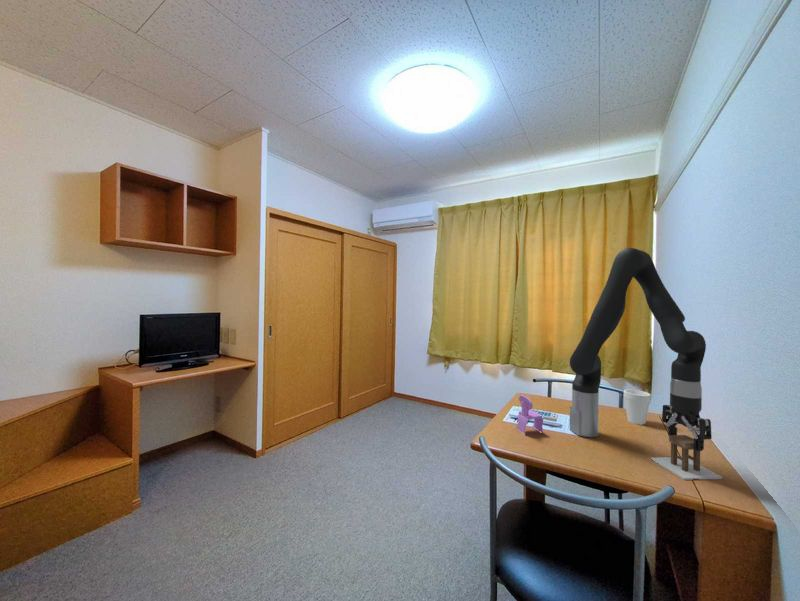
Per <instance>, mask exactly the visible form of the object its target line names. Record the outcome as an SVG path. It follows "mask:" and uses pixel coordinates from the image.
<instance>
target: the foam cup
mask: <svg viewBox="0 0 800 601" xmlns="http://www.w3.org/2000/svg"><path fill="white" fill-rule="evenodd" d="M651 396H652V395H651V393H649V392H647V391H643V390H638V389H629V388H628V389H624V390H623V397H624V405H625V411H626V419H627V421H628V422H629V423H631V424H633V425H638V424H639V426H640V425H641V426H643V424H645V423H646V424H647V420H648V419H647V418H648V413H649V406H650V403H651V402H650V401H651V398H652V397H651ZM646 424H645V425H646Z"/></svg>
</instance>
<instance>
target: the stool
mask: <svg viewBox="0 0 800 601" xmlns="http://www.w3.org/2000/svg"><path fill="white" fill-rule="evenodd" d="M668 442H669V443H670V457H671V464H673V465H677V458H678V459H680V460H682V470H683V471H688V461H689V460H691V461H693V469H694V470H696V471H700V465H701V451H696V450H694V437H691V436H688V435H686V434H677V435H668ZM678 447H679V448H681V456H680V455H678ZM689 450H693V451H692V453H693V456H692V455H689V453H690V452H689Z"/></svg>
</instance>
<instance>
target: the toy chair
mask: <svg viewBox="0 0 800 601" xmlns="http://www.w3.org/2000/svg"><path fill="white" fill-rule="evenodd" d="M518 399H519V400H518V401H519V402H520V406H521V410H520V411H518V414H517V425H516V427H515V429H516V428H517V429H519V430H520V431H521V432H523V433H524V434H525V435H526V427H527V424H528V422H529V421H530V420H534V421H533V425H532V427H535V428H536V429H538V430H539V431H541V432H543V424H544V418H543V415H542V414H540V413H538V412H536V411H534V410H533V405H534V404H533V402H532V401H531V399H530V398H529V397H528V396H525V395H523V394H520V395H519V397H518ZM543 433H544V432H543Z"/></svg>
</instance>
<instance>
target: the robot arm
mask: <svg viewBox="0 0 800 601" xmlns="http://www.w3.org/2000/svg"><path fill="white" fill-rule="evenodd" d="M633 278H634V279H635V280H636V281H637V283H638V285H639V286H640V287H641V289H642V292H643V295H644V297H645V301H646V303H647V306H648V308H649V310H650V312H651V313H652V315H653V317H654V318H655V320H656V322H657V323H658V324H659V327H660V330H661V334H662V337H663V339H664V342H665V344H666V346H668V348H669V349H670V350H672V352H674V353H677V357H676V358H675V360H673V361H672V363H671V367H670V368H671V369H670V372H671V373H670V375H671V376H670V382H669V383H670V384H669V404H663V405H662V414H661V421H662V423H665V425H666V426H667V435H668V436H669V435H678V427H677V426H678V425H682V426H683V427H685V428H687V429H688V431H690V432H691V435H692V436H693V439H694V450H696V451H700V452H702V451H703V450H704V449H705V444H704V443H705V440H712V438H713V437H712V436H713V435H712V420H711V419H709V418H702V417H701V416H700V413H701V412H702V410H703V408H702V405H703V404H702V400H703V399H702V396H703V395H702V394H703V392H702V391H703V390H702V389H703V388H702V382H701V381H702V379H701V378H702V374H701V373H702V370H701V368H702V364H703V362H704V358H705V354H706V349H707V344H706V340H705V337H704V336H703V335H702V334H701V333H700V332H698V331H694V330H687V328H686V327H685V324H684V322H685V320H686V317H685V315H684V313H683V311H682V310H681V308H679V305H678V304H677V302H675V300H674V298H673V297H672V296H671V294H670V292H669V291H668V289H667V288H666V286H665V285H664V283H663V281H662V280H661V278H660V275H659V273H658V271H657V269H656V266H655V264H654V260H653V259H652V256H651V255H650V254H649V253H648V252H646V251H644V250H641V249H638V248H633V247H627V248H623V249H621V251H619V252H618V253H617V254H616V256H615V257H614V260H613V262H612V265H611V268H610V271H609V274H608V277H607V281H606V282H605V286H604V287H603V290H602V292H601V294H600V296H599V299H598V301H597V303H596V305H595V306H594V309H593V311H592V313H591V316H590V318H589V321H588V323H587V325H586V327H585V330H584V332H583V334H582V335H583V336H582V337H581V339H580V342H579V343H578V344H577V346H576V347H575V349H574V351H573V352H572V354H571V355H570V358H569V366H570V369H571V370H572V371H573V373H575V376H574V379H573V381H572V384H571V385H572V386H571V387H572V388H571V392H572V393H571V394H572V395H571V406H570V407H569V431H571V432H572V431H573V432H572V433H574V434H575V433H576V434H575V435H577V436H578V435H579V437H586V438H596V437H598V436H599V399H600V397H599V395H600V394H599V393H600V392H599V391H600V390H599V389H600V386H601V378H602V361H601V358H600V356H599V353H600V351H601V349H602V347H603V345H605V344H604V343H606V341H607V340H608V339H609V337H611V336H612V334H613V333H614V331H615V330H616V329H617V327H618V325H619V324H620V321H621V319H622V318H623V315H624V312H625V310H626V299H627V298H626V297H627V291H628V289H629V285H630V283H631V282H632V280H633Z"/></svg>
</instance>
